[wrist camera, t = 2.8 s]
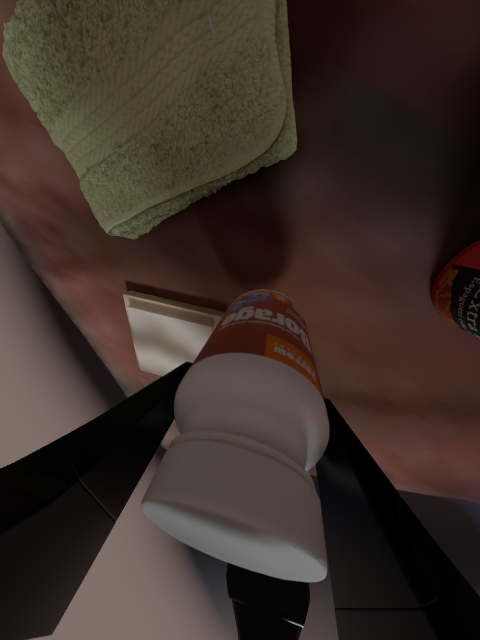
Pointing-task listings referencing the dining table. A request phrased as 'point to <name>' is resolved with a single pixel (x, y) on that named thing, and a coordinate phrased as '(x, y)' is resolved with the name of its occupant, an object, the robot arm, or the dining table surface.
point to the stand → (167, 330)
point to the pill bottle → (248, 445)
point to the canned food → (460, 290)
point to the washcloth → (156, 96)
